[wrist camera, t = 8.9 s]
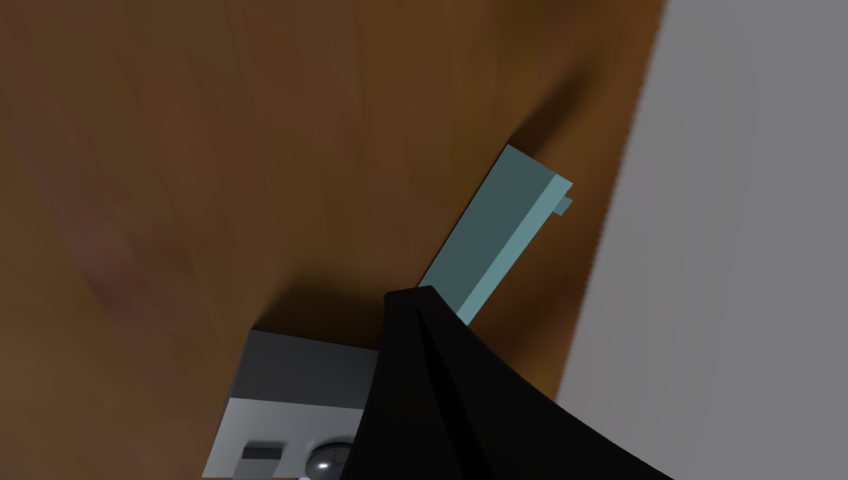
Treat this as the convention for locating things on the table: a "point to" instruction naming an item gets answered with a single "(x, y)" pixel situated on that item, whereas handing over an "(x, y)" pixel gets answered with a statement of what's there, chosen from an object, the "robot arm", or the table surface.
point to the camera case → (291, 409)
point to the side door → (495, 230)
